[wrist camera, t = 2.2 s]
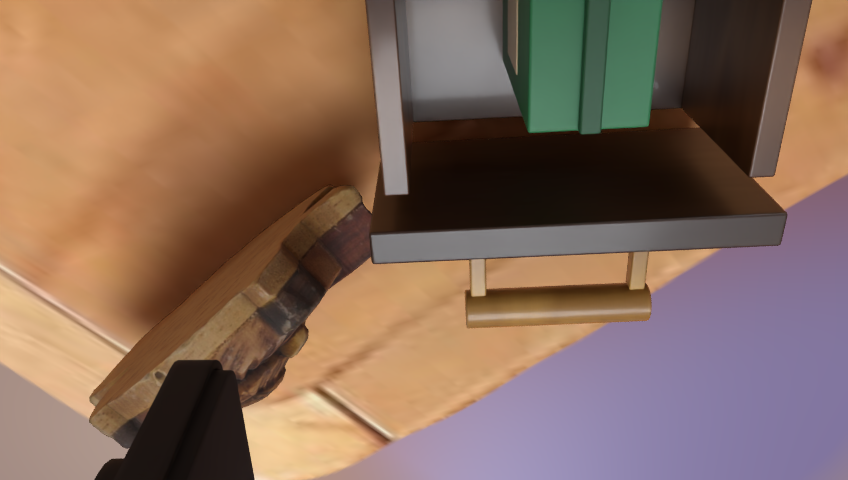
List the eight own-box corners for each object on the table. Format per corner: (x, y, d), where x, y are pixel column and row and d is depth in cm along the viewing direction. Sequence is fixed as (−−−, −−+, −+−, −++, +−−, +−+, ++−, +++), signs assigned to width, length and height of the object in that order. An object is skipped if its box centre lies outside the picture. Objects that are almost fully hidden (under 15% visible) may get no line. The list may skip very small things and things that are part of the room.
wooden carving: (196, 384, 36) (123, 552, 27) (121, 335, 35) (18, 497, 26) (411, 181, 30) (404, 314, 22) (332, 111, 29) (290, 225, 20)
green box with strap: (501, -78, 23) (530, -48, 17) (604, -85, 23) (676, -57, 16) (501, 62, 26) (526, 138, 19) (595, 57, 26) (654, 131, 19)
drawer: (684, 251, 31) (754, 361, 24) (393, 264, 31) (384, 376, 25) (763, -273, 21) (916, -328, 15) (346, -243, 22) (309, -283, 15)
